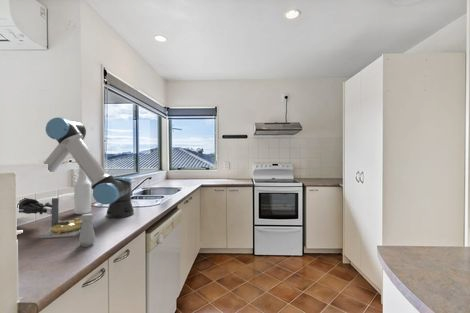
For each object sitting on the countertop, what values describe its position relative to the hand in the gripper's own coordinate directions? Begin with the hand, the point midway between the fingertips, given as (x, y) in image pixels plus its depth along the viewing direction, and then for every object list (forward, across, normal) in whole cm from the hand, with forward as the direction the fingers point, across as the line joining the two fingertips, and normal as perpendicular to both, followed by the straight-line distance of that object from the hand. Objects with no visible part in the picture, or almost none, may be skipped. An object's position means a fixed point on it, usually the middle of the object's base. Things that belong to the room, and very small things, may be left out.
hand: (52, 211), depth 108 cm
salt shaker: (+30, +2, -10) cm, 32 cm away
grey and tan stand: (+4, -4, -9) cm, 11 cm away
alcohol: (-22, -27, -10) cm, 36 cm away
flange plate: (+4, -4, -10) cm, 12 cm away
